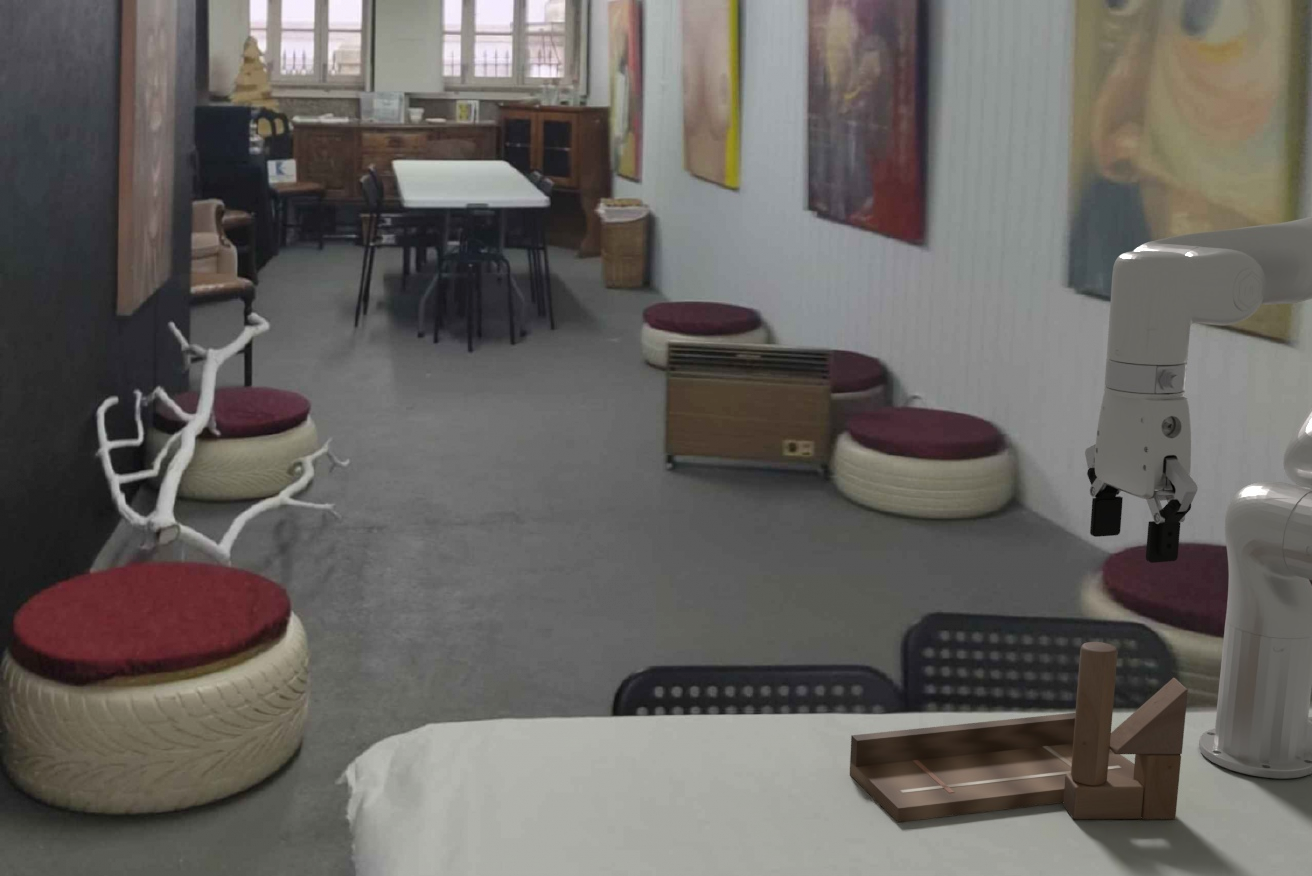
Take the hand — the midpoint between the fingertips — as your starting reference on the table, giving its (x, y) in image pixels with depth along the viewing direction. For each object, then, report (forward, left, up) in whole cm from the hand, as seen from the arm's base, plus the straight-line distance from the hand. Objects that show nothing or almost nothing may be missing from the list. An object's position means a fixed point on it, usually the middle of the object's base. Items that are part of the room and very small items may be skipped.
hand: (1132, 547), depth 148 cm
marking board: (+8, -9, -28) cm, 31 cm away
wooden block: (0, +1, -28) cm, 28 cm away
